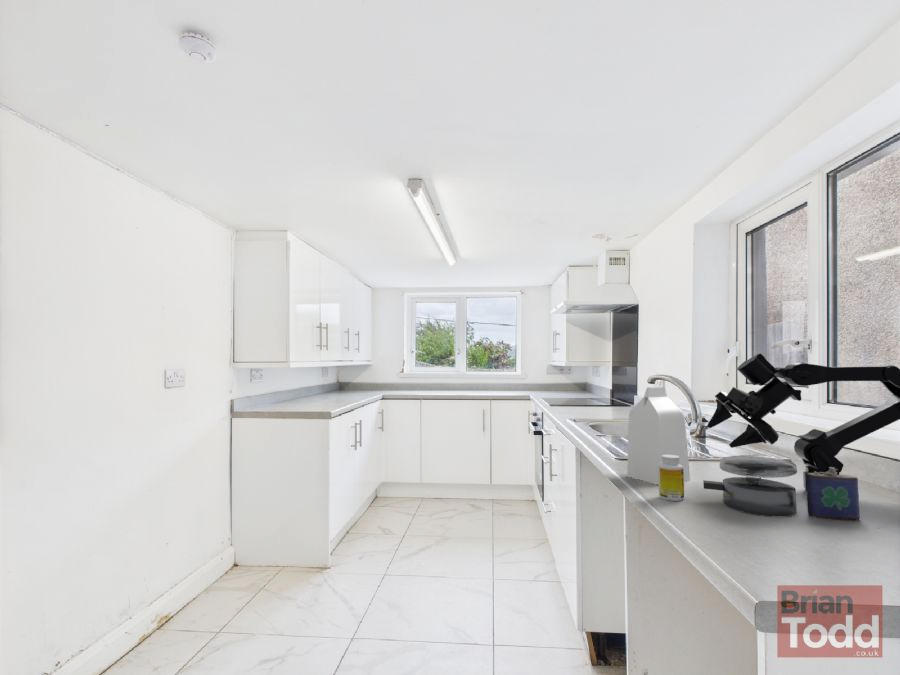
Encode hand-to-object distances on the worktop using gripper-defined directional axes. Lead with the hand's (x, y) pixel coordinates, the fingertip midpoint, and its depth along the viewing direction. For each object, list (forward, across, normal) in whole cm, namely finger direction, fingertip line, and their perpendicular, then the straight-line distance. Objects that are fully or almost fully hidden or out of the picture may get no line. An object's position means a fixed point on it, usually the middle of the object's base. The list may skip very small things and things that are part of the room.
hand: (718, 436), depth 125 cm
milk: (+20, -3, +3) cm, 20 cm away
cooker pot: (+7, +20, 0) cm, 21 cm away
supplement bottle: (+20, +14, -9) cm, 25 cm away
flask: (-4, +30, +5) cm, 30 cm away
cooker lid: (0, +17, -4) cm, 18 cm away
